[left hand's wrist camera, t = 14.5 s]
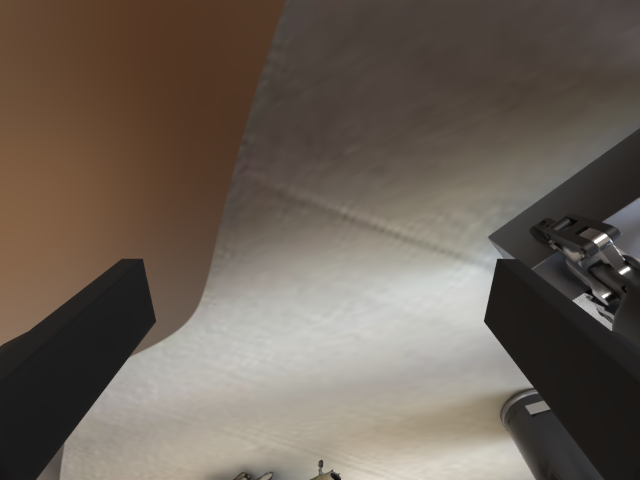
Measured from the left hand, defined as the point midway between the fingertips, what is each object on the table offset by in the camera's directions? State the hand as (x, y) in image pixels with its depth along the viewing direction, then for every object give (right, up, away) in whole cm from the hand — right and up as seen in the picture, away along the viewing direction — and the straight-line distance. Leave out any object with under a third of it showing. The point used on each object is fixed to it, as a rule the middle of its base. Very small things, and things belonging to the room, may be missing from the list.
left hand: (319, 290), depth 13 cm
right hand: (+24, +1, +23) cm, 33 cm away
